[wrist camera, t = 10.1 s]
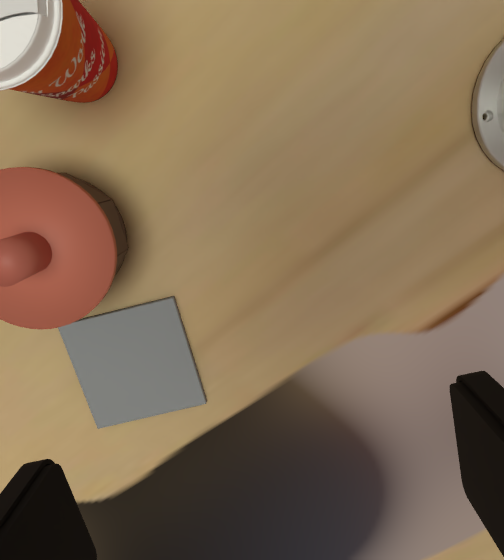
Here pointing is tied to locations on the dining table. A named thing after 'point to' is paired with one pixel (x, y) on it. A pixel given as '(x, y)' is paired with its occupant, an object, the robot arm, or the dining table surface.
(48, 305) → the lid
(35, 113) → the dining table surface
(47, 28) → the coffee cup
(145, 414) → the mat
